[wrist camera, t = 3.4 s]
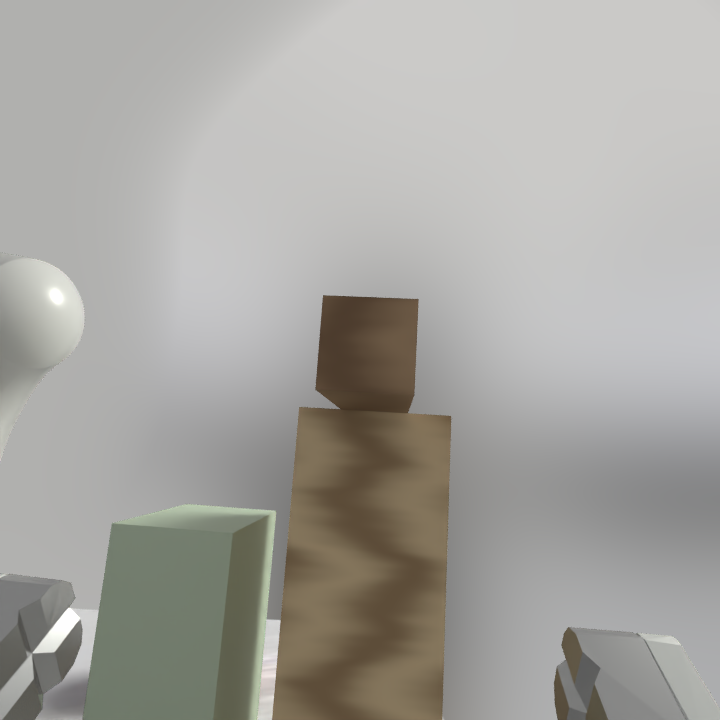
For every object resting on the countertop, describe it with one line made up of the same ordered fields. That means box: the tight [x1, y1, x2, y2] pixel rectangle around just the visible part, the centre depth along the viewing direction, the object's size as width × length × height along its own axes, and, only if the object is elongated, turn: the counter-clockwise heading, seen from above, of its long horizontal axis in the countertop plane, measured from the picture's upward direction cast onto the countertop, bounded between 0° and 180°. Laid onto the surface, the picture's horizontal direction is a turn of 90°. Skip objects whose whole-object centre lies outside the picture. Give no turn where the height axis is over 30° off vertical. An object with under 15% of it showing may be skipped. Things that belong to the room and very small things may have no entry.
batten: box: [316, 295, 418, 413], centre depth 28 cm, size 4×22×4 cm, turn 176°
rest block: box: [83, 504, 276, 720], centre depth 30 cm, size 7×10×19 cm
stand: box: [272, 407, 451, 720], centre depth 29 cm, size 8×12×26 cm, turn 176°
